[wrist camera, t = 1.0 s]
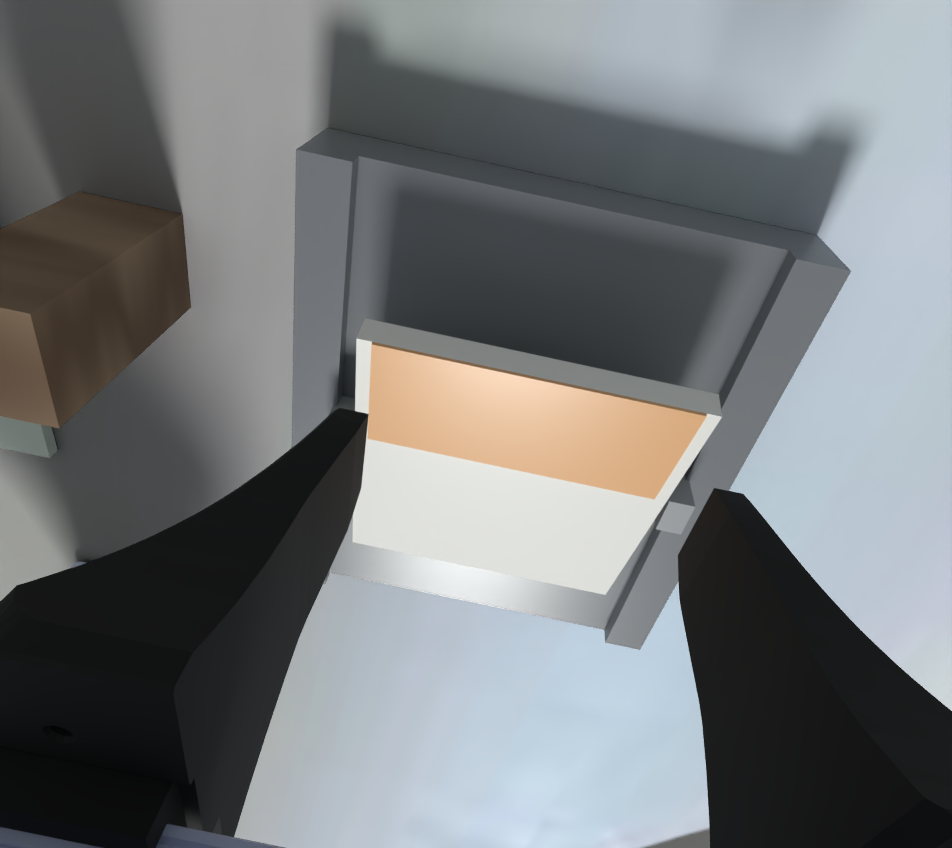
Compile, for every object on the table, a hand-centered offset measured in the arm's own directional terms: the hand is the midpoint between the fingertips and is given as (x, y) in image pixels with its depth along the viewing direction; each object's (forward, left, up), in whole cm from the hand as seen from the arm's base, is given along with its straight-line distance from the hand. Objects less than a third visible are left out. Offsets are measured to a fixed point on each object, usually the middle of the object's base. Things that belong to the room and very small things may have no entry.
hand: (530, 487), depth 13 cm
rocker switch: (-4, 0, -5) cm, 6 cm away
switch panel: (-4, 0, -9) cm, 10 cm away
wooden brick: (-1, +13, -9) cm, 16 cm away
